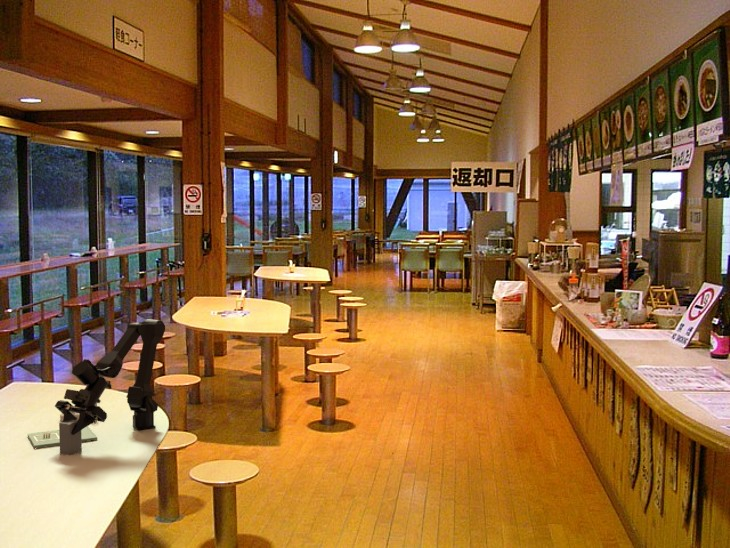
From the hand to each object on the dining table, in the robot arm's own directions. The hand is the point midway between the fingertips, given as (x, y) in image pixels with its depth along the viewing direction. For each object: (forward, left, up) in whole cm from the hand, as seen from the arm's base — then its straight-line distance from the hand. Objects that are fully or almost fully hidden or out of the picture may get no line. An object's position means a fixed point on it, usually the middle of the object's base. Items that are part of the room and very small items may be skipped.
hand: (67, 433), depth 256 cm
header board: (-3, -18, -7) cm, 20 cm away
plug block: (-1, -1, -7) cm, 7 cm away
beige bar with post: (-16, -41, -7) cm, 44 cm away
